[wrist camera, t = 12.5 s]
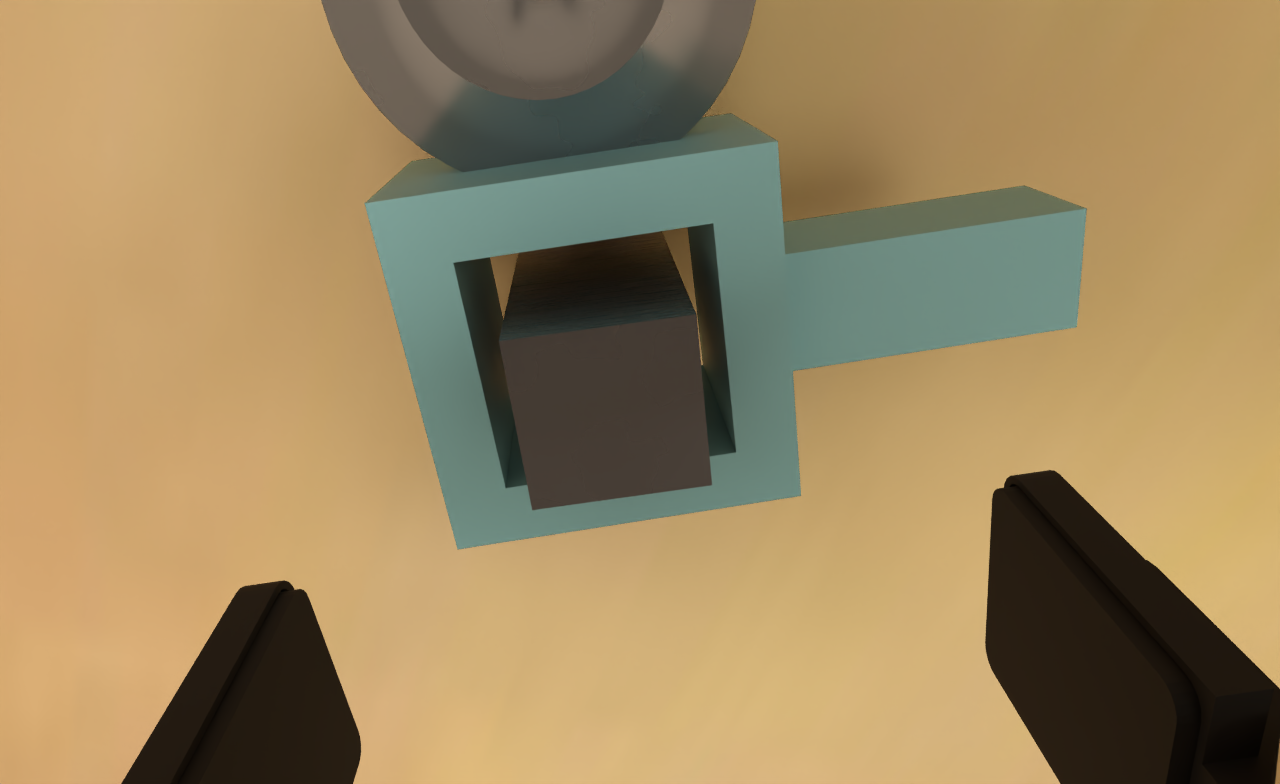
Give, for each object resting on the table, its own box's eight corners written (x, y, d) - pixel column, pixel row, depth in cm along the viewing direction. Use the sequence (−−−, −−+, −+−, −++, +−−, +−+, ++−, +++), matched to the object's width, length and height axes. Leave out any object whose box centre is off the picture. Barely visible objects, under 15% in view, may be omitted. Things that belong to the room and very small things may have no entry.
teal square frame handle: (1006, 71, 24) (1132, 87, 19) (994, 365, 28) (1096, 449, 23) (411, 161, 24) (364, 203, 19) (480, 444, 28) (457, 549, 22)
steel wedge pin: (635, 168, 33) (696, 314, 17) (646, 266, 35) (712, 485, 19) (535, 181, 33) (498, 341, 17) (551, 278, 35) (532, 510, 19)
